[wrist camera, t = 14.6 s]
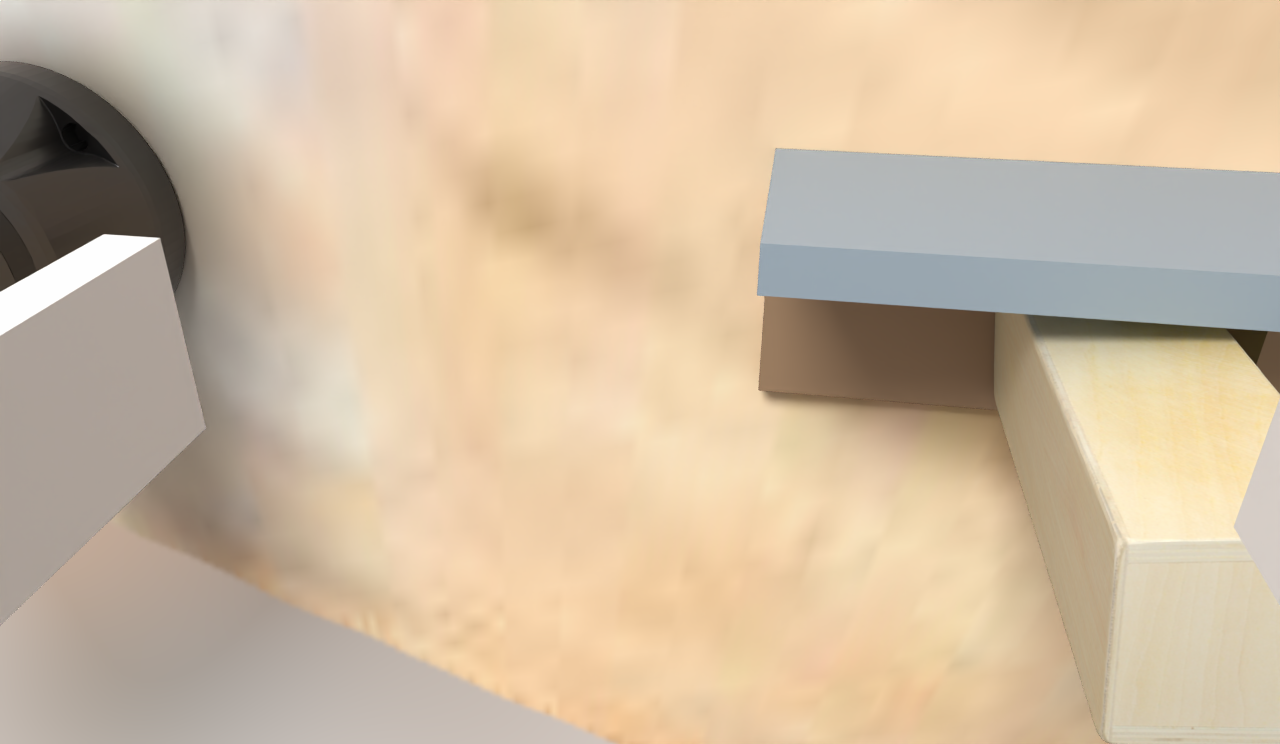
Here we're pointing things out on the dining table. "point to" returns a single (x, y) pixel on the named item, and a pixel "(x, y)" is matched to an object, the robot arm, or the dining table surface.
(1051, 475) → the toy refrigerator
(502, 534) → the dining table surface
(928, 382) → the cleat board
